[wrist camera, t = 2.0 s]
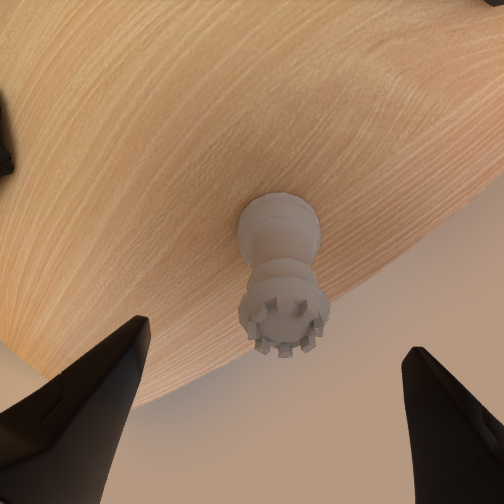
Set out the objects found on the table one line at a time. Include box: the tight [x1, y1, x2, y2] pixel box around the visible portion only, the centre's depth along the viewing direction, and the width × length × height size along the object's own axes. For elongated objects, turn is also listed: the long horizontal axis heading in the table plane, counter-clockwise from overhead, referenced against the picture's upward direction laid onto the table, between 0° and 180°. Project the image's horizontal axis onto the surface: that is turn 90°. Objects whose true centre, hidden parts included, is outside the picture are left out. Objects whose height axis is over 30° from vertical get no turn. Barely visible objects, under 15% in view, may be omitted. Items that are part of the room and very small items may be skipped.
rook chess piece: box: [237, 192, 330, 358], centre depth 13 cm, size 4×4×8 cm
